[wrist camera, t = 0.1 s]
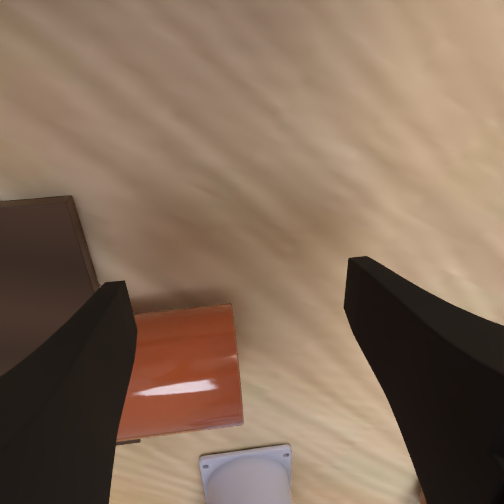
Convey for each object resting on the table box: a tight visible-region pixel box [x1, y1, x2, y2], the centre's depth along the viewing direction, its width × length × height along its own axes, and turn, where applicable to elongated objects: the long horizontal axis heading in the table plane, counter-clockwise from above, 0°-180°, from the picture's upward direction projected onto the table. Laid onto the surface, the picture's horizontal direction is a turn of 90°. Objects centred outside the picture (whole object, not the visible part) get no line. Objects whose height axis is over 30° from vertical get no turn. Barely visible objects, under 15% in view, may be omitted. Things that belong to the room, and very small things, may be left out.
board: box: [0, 196, 141, 445], centre depth 24 cm, size 20×14×1 cm
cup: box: [116, 303, 244, 442], centre depth 23 cm, size 8×7×7 cm
